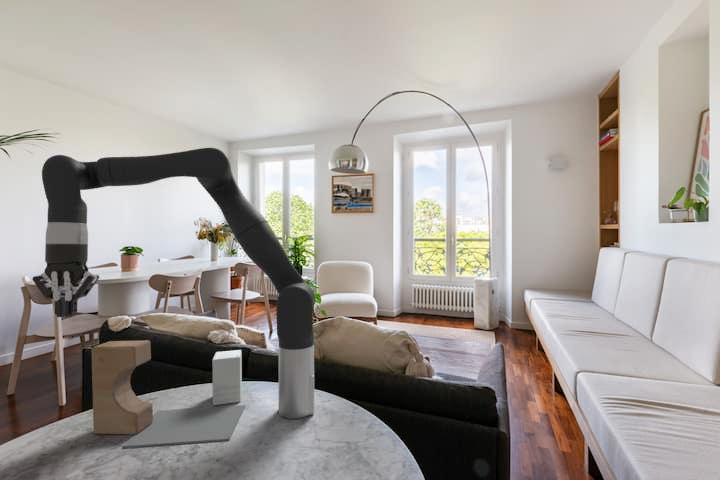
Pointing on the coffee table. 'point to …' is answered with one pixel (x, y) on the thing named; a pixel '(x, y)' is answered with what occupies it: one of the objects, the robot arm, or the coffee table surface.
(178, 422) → the mat
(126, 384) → the decorative block
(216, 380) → the supplement box
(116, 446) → the coffee table surface
